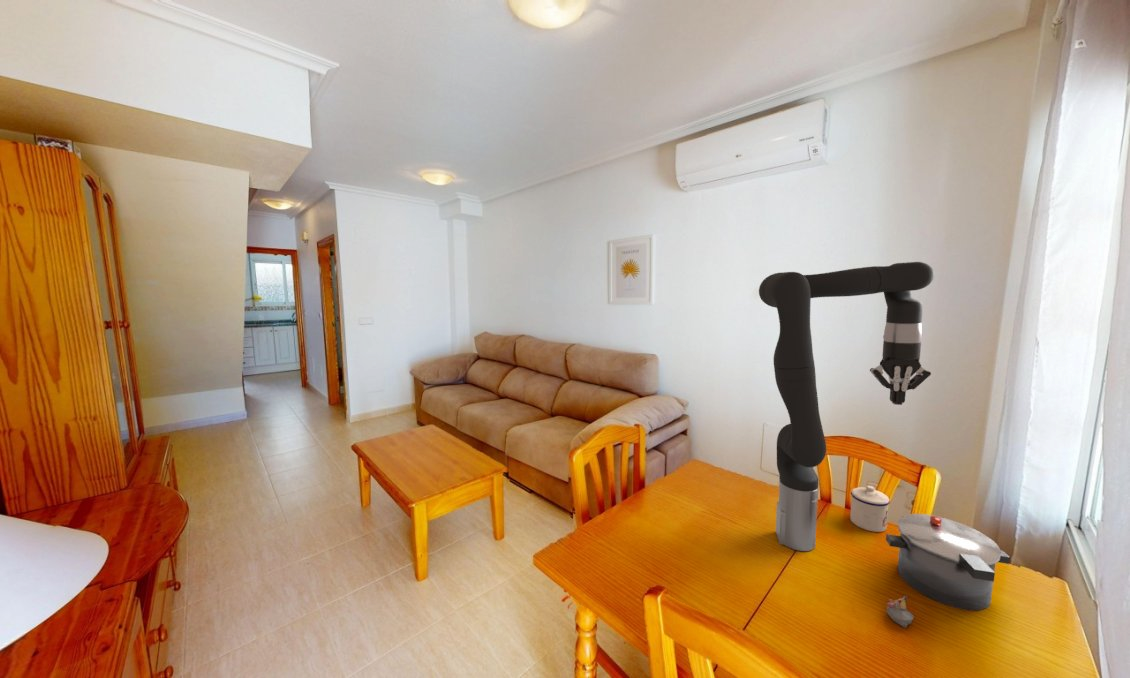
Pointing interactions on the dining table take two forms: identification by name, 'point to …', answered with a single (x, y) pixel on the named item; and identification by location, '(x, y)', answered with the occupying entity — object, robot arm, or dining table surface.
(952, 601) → the pot
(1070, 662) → the dining table surface
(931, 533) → the lid
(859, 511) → the white lidded canister
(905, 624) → the figurine
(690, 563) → the dining table surface
